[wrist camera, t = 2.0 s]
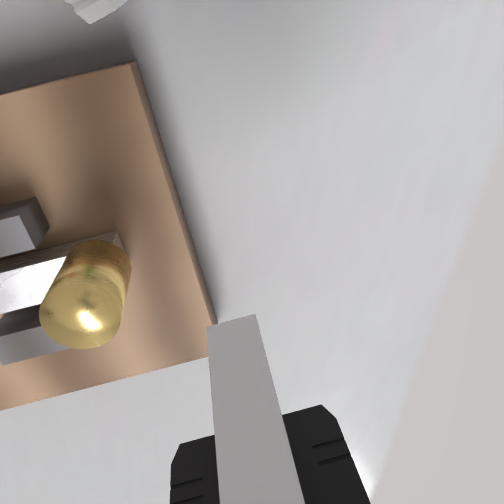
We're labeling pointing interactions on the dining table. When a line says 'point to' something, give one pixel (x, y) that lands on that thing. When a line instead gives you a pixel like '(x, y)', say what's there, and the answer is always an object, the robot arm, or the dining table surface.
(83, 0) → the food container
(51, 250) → the bolt
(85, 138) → the door board
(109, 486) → the dining table surface
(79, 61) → the dining table surface
